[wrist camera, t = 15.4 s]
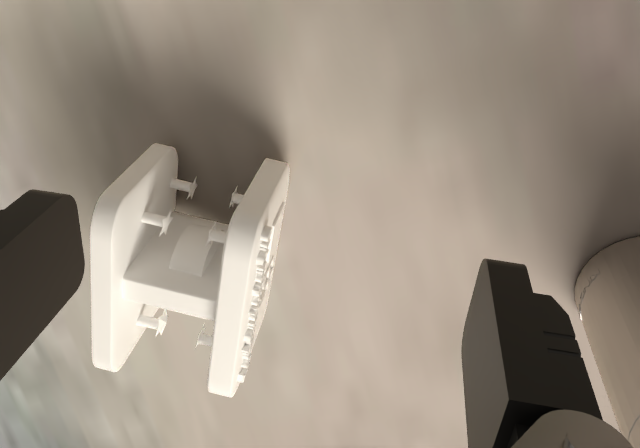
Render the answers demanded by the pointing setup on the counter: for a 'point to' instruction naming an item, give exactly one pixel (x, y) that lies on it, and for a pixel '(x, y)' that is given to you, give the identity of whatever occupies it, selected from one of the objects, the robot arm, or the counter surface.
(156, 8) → the counter surface
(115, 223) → the cable organizer
